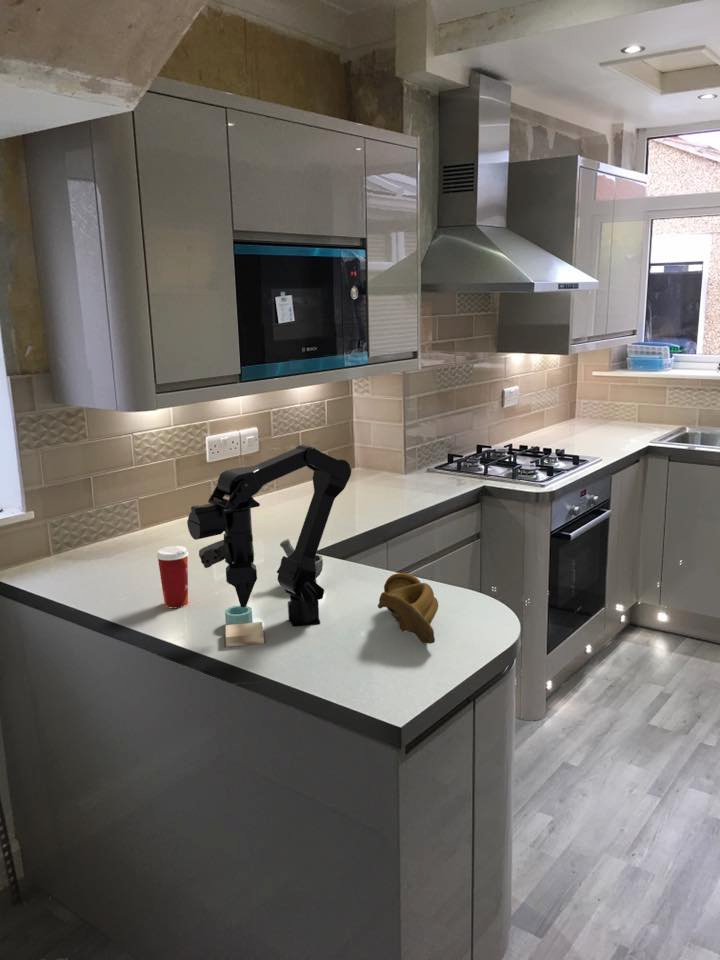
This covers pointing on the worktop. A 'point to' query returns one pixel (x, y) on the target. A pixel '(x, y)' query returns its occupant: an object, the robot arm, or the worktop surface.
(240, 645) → the mat
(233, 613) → the ramekin
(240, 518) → the robot arm
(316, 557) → the mortar and pestle
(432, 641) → the brown looped sculpture
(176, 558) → the paper cup
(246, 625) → the board
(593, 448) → the worktop surface
